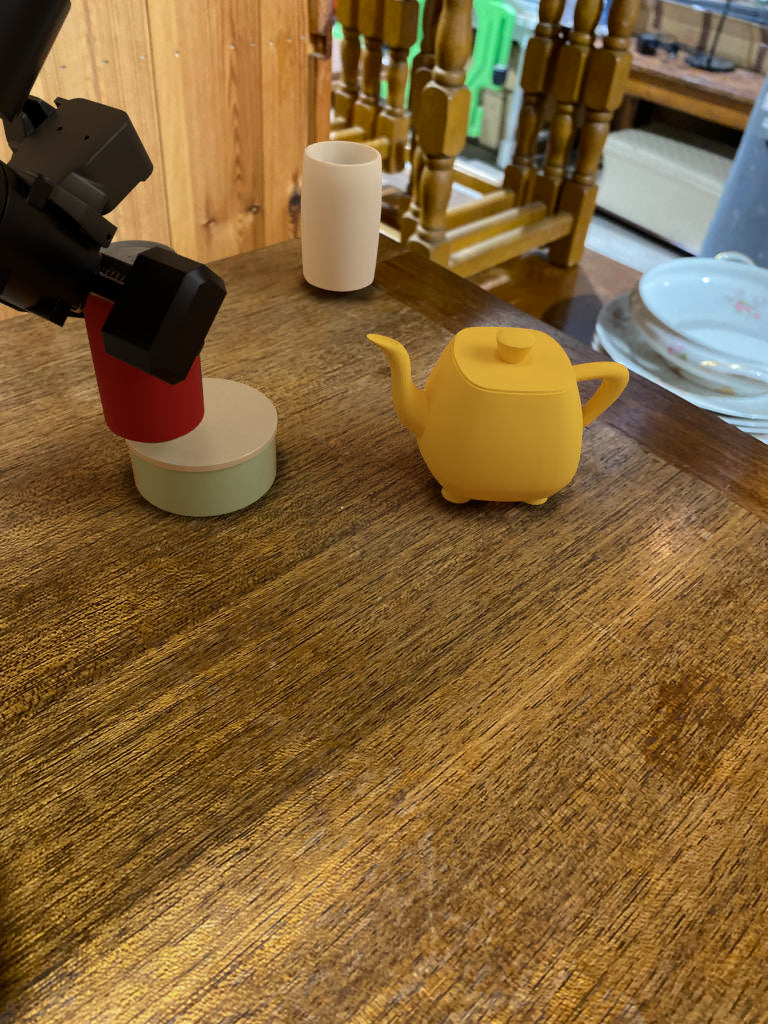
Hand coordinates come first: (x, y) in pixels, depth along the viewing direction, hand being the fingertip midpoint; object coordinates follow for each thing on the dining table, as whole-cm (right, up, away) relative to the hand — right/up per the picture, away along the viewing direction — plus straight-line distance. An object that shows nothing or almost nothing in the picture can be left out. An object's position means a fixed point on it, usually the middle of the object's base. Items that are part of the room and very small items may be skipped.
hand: (160, 331), depth 51 cm
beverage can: (-1, -6, +4) cm, 7 cm away
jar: (+1, -9, +11) cm, 14 cm away
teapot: (+23, -8, +13) cm, 28 cm away
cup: (+10, +13, +37) cm, 40 cm away
